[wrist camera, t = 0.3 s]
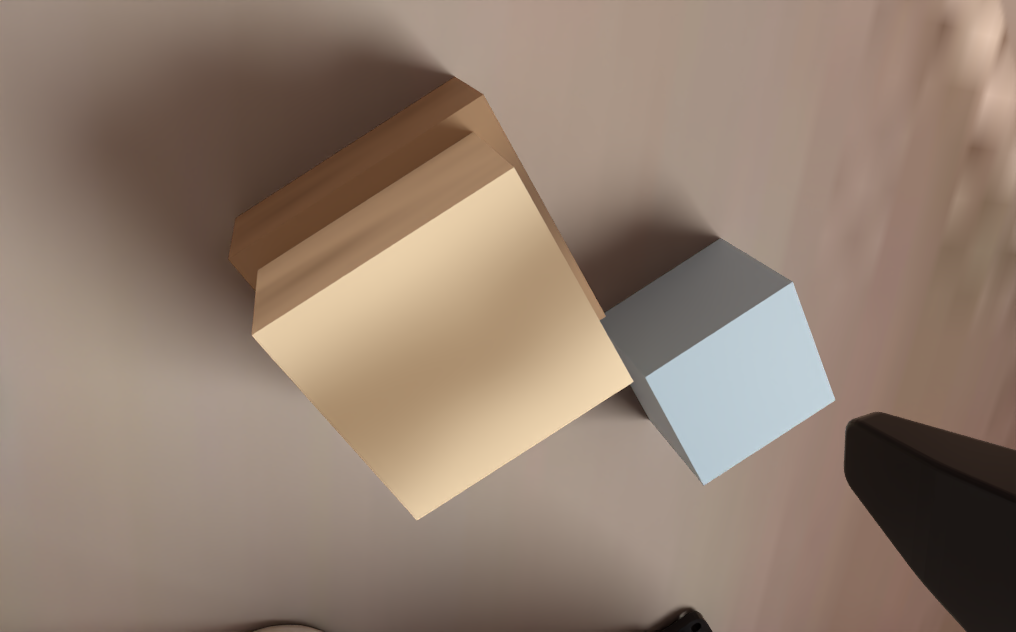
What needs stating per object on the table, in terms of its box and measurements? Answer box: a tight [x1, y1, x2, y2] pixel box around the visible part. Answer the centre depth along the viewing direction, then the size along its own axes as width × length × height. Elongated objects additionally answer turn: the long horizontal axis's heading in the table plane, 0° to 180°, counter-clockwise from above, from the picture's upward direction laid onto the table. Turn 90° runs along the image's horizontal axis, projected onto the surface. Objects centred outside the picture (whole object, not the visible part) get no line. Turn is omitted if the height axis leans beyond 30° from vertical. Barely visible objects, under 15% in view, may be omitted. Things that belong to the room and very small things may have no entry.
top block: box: [600, 238, 835, 485], centre depth 24 cm, size 5×5×4 cm
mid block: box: [252, 132, 634, 520], centre depth 17 cm, size 6×6×4 cm
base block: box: [228, 77, 606, 320], centre depth 20 cm, size 7×7×4 cm
